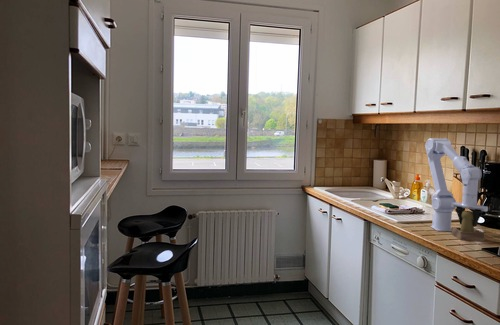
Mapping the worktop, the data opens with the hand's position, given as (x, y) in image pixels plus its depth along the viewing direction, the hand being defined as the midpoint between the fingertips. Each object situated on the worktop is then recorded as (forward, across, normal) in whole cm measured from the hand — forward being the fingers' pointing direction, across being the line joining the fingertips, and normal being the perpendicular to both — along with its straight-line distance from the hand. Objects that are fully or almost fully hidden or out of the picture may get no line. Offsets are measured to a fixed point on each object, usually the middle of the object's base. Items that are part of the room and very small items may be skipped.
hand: (468, 225), depth 189 cm
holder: (+6, 0, 0) cm, 6 cm away
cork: (+5, 0, -1) cm, 5 cm away
